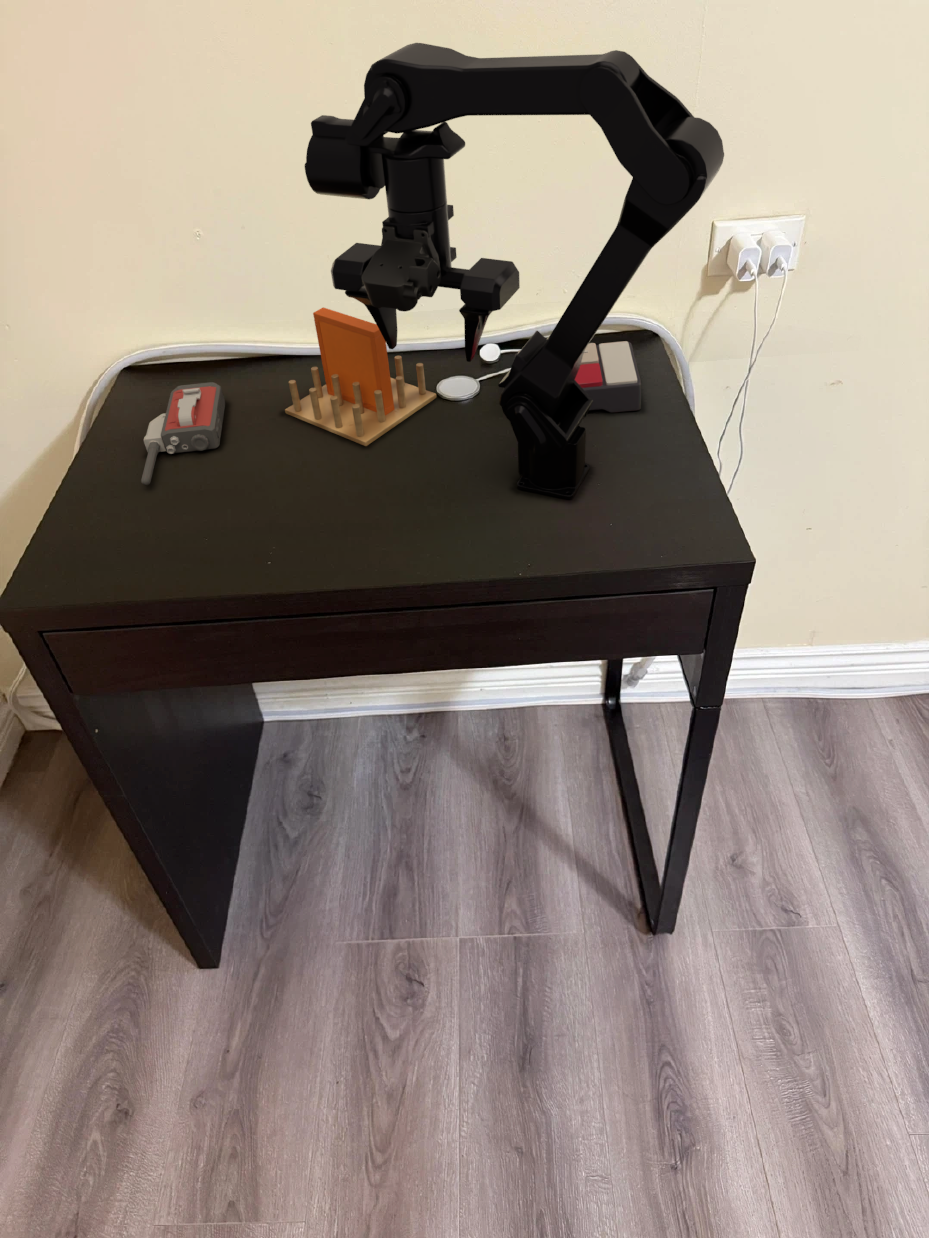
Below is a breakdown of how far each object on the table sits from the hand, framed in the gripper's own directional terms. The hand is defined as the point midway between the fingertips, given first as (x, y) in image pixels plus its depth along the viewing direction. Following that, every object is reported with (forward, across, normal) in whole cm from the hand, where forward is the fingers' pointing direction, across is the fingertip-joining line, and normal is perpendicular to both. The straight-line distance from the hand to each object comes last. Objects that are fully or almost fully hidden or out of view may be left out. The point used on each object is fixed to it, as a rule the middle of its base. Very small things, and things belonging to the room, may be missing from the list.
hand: (431, 353), depth 97 cm
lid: (+12, -15, +7) cm, 20 cm away
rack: (+13, -15, +7) cm, 21 cm away
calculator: (+13, +10, +19) cm, 25 cm away
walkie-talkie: (+13, -31, -8) cm, 35 cm away
